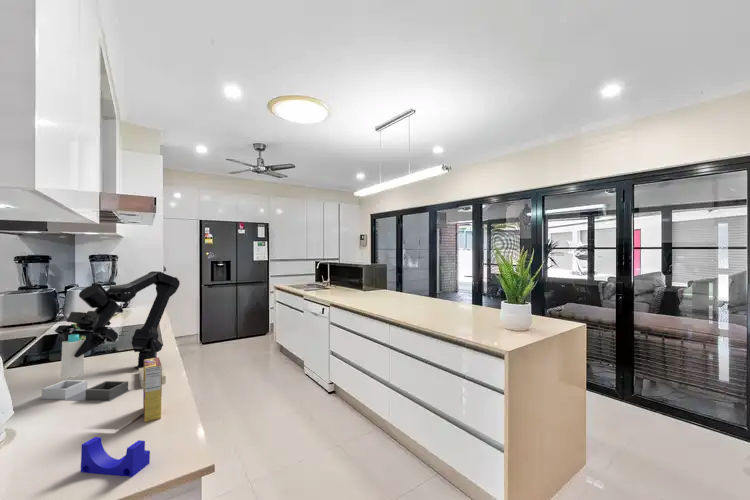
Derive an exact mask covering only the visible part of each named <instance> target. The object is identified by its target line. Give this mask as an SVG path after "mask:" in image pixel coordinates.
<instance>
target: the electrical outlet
mask: <svg viewBox="0 0 750 500" xmlns="http://www.w3.org/2000/svg"><path fill="white" fill-rule="evenodd" d="M143 376H144V367H143V368H138V378H139V383H140V389H143ZM166 382H167V375H166V373H165V371H164V368H163V367H162V385H165V384H166Z"/></svg>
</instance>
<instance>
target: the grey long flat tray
mask: <svg viewBox="0 0 750 500" xmlns="http://www.w3.org/2000/svg"><path fill="white" fill-rule="evenodd" d="M131 391H132V389H129V381H127V380H126V381H124V380H123V381H121V380H119V381H117V380H105V381H103V382H101V383H99V384H96V385H94V386H92V387H89V388H88V380H83V379H82V380H79V379H78V380H76V379H75V380H73V379H63V380H62V381H59V382H57V383H55V384H52V385H49V386H46V387H43V388H42V389H41V397H40V398H38V399H36V401H72V402H73V401H74V402H75V401H76V402H106V403H107V402H111V401H113V400H115V399H117V398H119V397H122V396H123V395H124V394H126V393H129V392H131Z"/></svg>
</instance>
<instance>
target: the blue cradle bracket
mask: <svg viewBox="0 0 750 500" xmlns="http://www.w3.org/2000/svg"><path fill="white" fill-rule="evenodd" d="M80 450H81V453H80V454H81V455H80V456H81V457H80V473H82V474H83V473H85V474H95V475H96V474H97V475H104V476H105V475H106V476H119V477H129V478H133V477H134V476H136V475H137V474H138V473H140V472H141V471H142V470H144V469H145V468H146V467H147V466H148V465H150V462H151V461H150V460H151V456H150V455H151V450H146V440H137V441H135V442H133V443H132V444H131V445H130V446H128V447H126V452H125V455H124V456H122V457H121V458H119V459H117V458H115V457H112V456H111V455H109V454H108V453H107V452H106V449H105V448H104V446H103V443H102V436H99V437H98V436H95V437H92V438H91V439H88V440H87V441H85V442H84V443H81V449H80Z"/></svg>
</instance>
